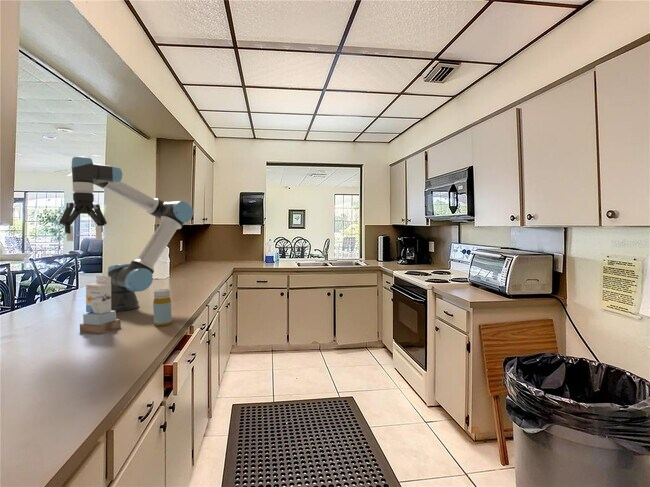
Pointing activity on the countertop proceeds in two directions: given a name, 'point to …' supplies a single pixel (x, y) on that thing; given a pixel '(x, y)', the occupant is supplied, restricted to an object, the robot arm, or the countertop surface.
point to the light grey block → (99, 318)
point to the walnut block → (100, 327)
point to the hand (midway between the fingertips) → (85, 240)
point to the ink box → (99, 295)
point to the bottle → (162, 307)
